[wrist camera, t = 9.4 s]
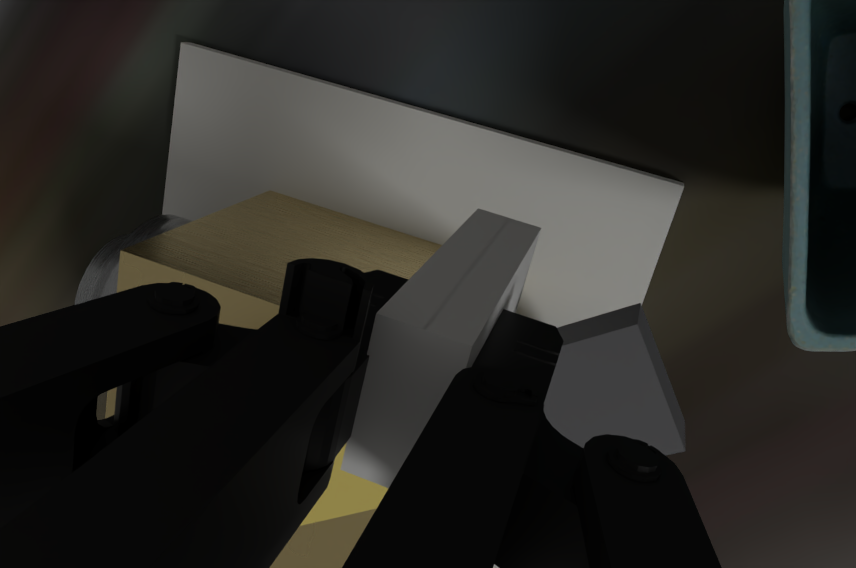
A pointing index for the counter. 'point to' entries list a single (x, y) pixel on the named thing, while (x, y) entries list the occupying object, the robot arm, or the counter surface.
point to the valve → (256, 292)
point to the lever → (572, 400)
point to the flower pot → (820, 174)
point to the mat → (414, 177)
